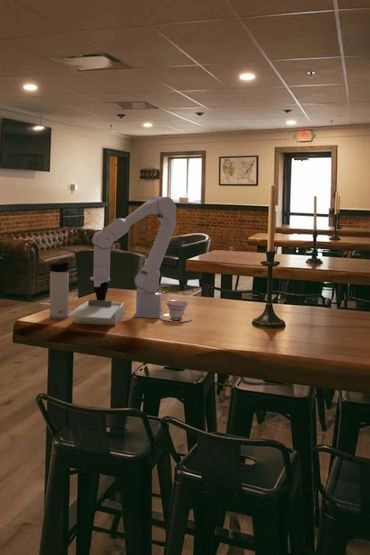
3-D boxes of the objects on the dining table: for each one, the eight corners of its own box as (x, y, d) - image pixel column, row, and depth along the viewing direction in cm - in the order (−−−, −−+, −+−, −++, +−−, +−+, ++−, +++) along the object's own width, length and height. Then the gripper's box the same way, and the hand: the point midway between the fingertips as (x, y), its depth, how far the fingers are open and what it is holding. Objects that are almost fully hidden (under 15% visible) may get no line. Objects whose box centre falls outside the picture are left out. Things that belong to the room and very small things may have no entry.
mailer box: (124, 313, 198) (124, 303, 197) (115, 325, 180) (115, 313, 179) (87, 311, 198) (87, 300, 198) (74, 323, 181) (74, 311, 180)
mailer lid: (120, 307, 188) (120, 300, 188) (109, 319, 170) (109, 312, 170) (81, 305, 189) (81, 298, 188) (67, 317, 171) (67, 309, 170)
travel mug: (64, 320, 183) (65, 263, 180) (46, 318, 185) (47, 261, 181) (71, 316, 189) (72, 261, 186) (54, 314, 191) (55, 259, 187)
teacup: (188, 324, 187) (189, 307, 186) (155, 321, 189) (156, 304, 188) (195, 317, 198) (195, 300, 197) (164, 314, 201) (164, 298, 200)
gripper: (95, 262, 193) (94, 298, 196) (85, 267, 179) (84, 307, 181) (114, 263, 193) (113, 299, 195) (106, 269, 179) (105, 308, 181)
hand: (101, 303), depth 188 cm, fingers closed
